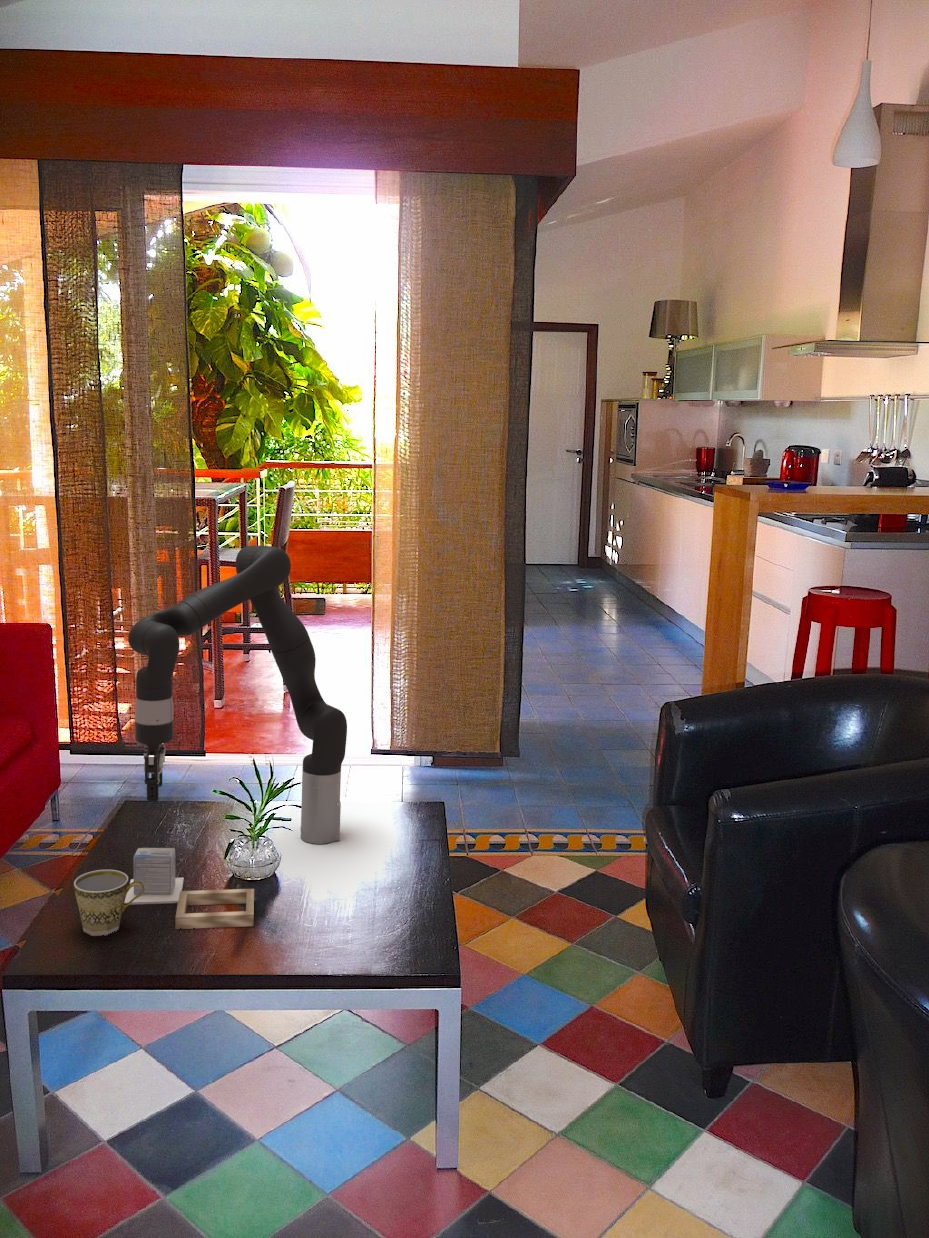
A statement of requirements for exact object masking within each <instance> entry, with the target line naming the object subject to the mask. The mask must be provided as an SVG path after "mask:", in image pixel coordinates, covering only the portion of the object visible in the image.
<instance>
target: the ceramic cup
mask: <svg viewBox="0 0 929 1238" xmlns="http://www.w3.org/2000/svg"><path fill="white" fill-rule="evenodd" d="M137 885H139V886H141V887H142V892H141V893H140V894H139V895H137V896H136V897H134V898H133V899H132V900H131V901H130V902H129V903H127V904H125V903H124V902H125V898H126V895H127V892H128V891H129V889H130V888H132V887H133V886H137ZM73 890H74V894H75V899H76V903H77V906H78V911H79V916H80V920H81V926H82V930H83V933H86V934H87V935H90V936H92V937H97V936H98V937H99V936H100V937H101V936H102V935H104V936H108V934H109V935H110V933H111V934H113V933H115V932H117V930H118V931H119V929H120V925H121V920H122V919H121V918H122V915H123V912H124V911H125V910H126V908H128V906H130V904H131V903H132V902H133V901H134V900H135V899H137V898H138V897H140V896H141V895H142V894H143V892H144V885H143V884H142V883H141V882H132V883H130V882H129V876H128V874H126V873H125V872H123V871H121V870H116V869H96V870H92V871H89V872H84V873H83V874H81V875H79V876H78V877H76V879H75V880H74V881H73ZM114 931H115V932H114ZM112 932H113V933H112Z"/></svg>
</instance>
